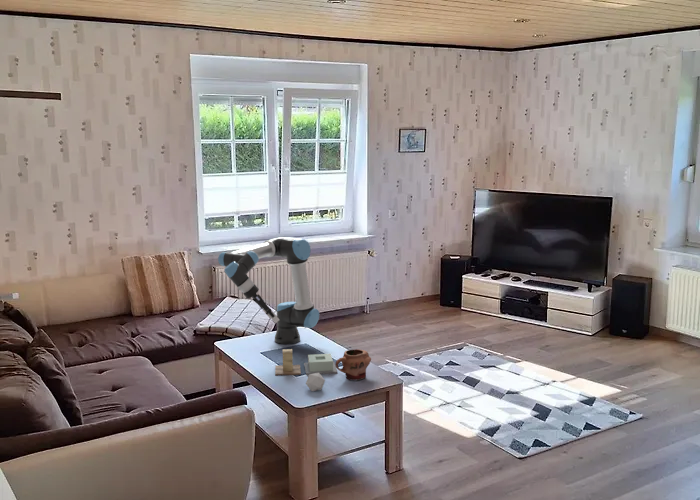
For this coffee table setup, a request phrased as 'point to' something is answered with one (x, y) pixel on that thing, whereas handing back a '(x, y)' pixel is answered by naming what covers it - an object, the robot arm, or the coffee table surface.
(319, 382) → the die
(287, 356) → the wooden t-shaped block
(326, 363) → the square socket base
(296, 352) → the coffee table surface
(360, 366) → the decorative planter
